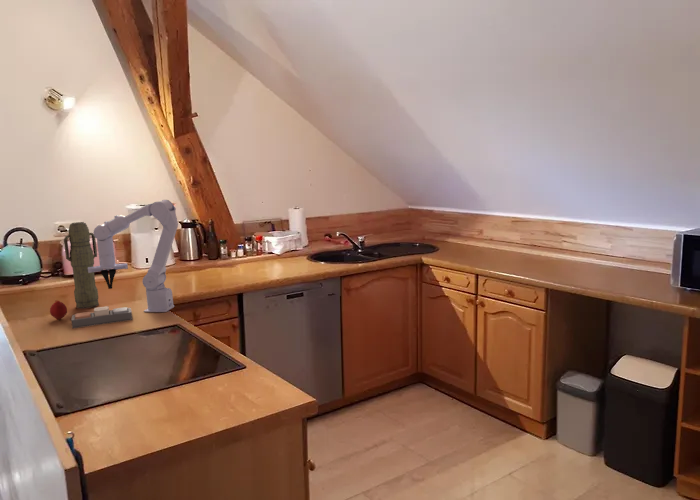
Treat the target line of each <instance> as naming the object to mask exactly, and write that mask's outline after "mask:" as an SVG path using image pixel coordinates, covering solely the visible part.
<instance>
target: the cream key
mask: <svg viewBox="0 0 700 500" xmlns="http://www.w3.org/2000/svg"><path fill="white" fill-rule="evenodd" d="M109 310H110V307H109V305H108V306H98V307H93V312H94V314H95V316H103V315H109Z"/></svg>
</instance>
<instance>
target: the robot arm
mask: <svg viewBox="0 0 700 500" xmlns="http://www.w3.org/2000/svg"><path fill="white" fill-rule="evenodd" d="M176 209H177V208H176V207H175V206H174V203H172V201H170V200H169V199H162V200H158V201H154V202H152V203H149V204H146V205H143V206H142V207H139V208H138V209H136V210H134V211H132V212H131V213H128V214H126V215H124V214H120V215H119V214H117V215H114V217H113V219H111V220H105V221H104V222H103V224H99V225H97V226H96V227H95V228H94V230H93V232H92V233H93V234H94V236H95V240H96V246H97V254H98V260H99V261H98V262H99V265H95V266H93V267H88V273H91V272H94V273H98V272H100V274H101V276H102V277H103V279H104V280H105V283H106V285H107V287H108V290H112V289H113V283H114V278H115V275H116V273H117V272H116V271H117V270H128V269H129V266H128V263H127V262H126V263H116V257H115V256H116V255H115V248H114V239H113V237H114V236H115V235H117V234H119V233H121V232H123V231H125V230H128V229H129V227H130V224H131V223H133V222H136V221H138V220H139V219H140V220H141V219H142V218H144V217H145V216H146V217H153V218H155V219H156V220H157V221H158V222H160V225H161V226H162V227H163V228H162V230H161V233H160V237H159V239H158V240H159V241H158V243H157V246H156V250H155V253H154V256H153V259H152V262H151V263H152V264H151V265H150V267H149V268H148V270H147V272H146V274H145V275H144V276H143V277H142V284H143V285H142V286H143V287H144V288H145V294H146V303H147V309H144V310H143V312H144V313H166V312H169V311H170V310H172V309H173V308H174V307H175V305H174V298H173V291H172V289H171V288H169V287H165V282H166V280H167V275H166V271H167V266H166V265H167V262H168V260H169V256H170V252H171V249H172V247H173V243H174V240H175V238H176V237H175V236H176V234H177V230H178V228H179V222H178V217H177V214H176Z"/></svg>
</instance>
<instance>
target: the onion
mask: <svg viewBox="0 0 700 500" xmlns="http://www.w3.org/2000/svg"><path fill="white" fill-rule="evenodd" d="M49 312H50V315H51V317H52V318H54V319H56V320H58V321H60V320H62V319H63V318H64V317H66V315H67V313H68V308H67V306H66V304H64V303H63V302H62V301H60V300H58V299H54V303H53V304H51V306H50V308H49Z"/></svg>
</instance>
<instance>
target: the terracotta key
mask: <svg viewBox="0 0 700 500" xmlns="http://www.w3.org/2000/svg"><path fill="white" fill-rule="evenodd" d="M91 313H92V312H91V311H87V312H79V313H75V314H74V315H75V319H80V318H88V317H91Z"/></svg>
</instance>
